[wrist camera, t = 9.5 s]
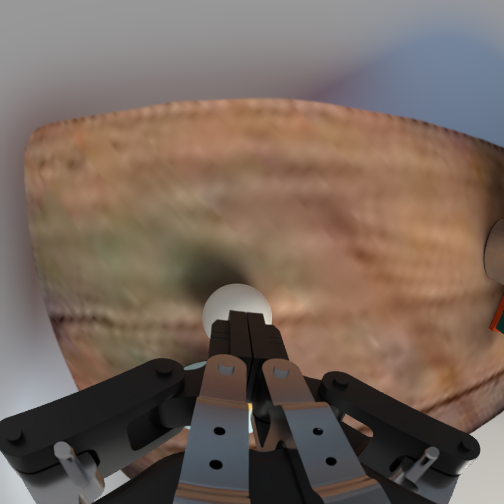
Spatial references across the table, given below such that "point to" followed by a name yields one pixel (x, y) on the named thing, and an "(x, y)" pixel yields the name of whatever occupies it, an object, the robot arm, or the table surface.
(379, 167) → the table surface
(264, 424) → the robot arm
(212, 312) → the cue ball
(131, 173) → the table surface
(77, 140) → the table surface
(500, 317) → the power tool
